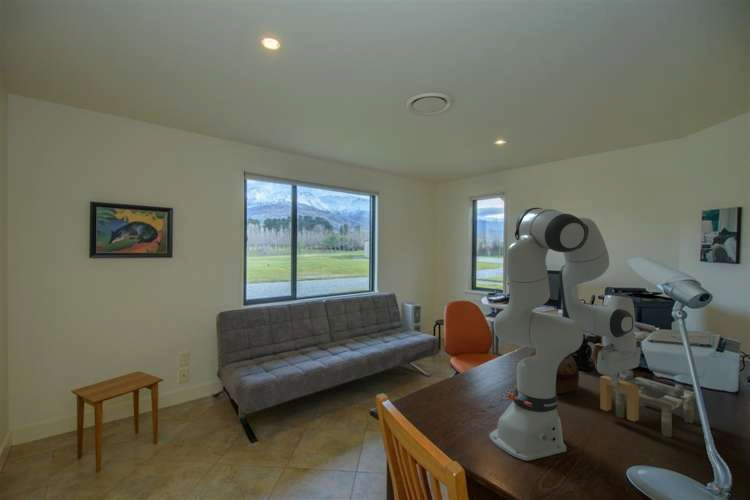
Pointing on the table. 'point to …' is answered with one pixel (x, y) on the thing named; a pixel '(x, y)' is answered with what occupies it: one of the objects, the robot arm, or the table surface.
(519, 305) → the robot arm
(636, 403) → the wooden mini bench
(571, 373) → the ceramic pitcher
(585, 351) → the movie camera
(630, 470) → the table surface
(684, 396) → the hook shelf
